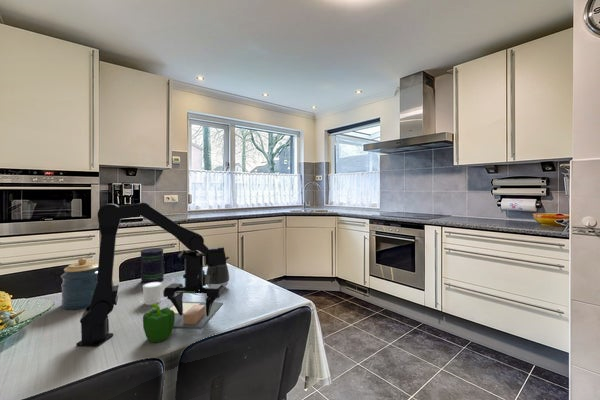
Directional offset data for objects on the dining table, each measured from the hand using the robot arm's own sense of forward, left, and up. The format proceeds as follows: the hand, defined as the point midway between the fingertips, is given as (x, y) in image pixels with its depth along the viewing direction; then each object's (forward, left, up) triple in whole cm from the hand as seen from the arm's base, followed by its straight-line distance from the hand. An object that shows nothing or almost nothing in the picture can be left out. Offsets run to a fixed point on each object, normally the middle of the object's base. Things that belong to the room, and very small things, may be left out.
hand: (194, 315), depth 97 cm
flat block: (0, 0, -1) cm, 1 cm away
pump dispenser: (+31, +3, -2) cm, 31 cm away
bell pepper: (-12, +5, -2) cm, 14 cm away
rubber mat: (+4, +4, -1) cm, 6 cm away
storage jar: (+39, +38, -2) cm, 54 cm away
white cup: (+14, +23, -2) cm, 27 cm away
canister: (+11, +49, -2) cm, 50 cm away
